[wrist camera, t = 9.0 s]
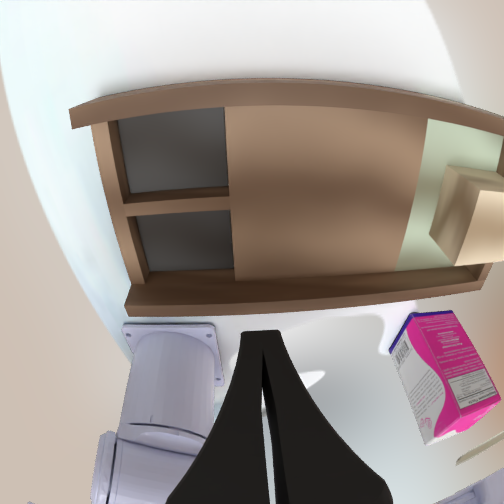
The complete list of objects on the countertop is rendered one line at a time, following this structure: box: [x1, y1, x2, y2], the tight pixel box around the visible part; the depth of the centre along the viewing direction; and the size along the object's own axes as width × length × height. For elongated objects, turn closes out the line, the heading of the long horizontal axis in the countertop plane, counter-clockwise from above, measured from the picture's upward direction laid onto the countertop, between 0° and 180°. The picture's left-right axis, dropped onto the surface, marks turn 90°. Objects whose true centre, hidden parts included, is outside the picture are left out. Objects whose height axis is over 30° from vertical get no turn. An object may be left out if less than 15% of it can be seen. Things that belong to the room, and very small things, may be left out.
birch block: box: [429, 165, 504, 266], centre depth 15 cm, size 5×5×4 cm
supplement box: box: [389, 310, 501, 446], centre depth 22 cm, size 6×6×12 cm
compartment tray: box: [69, 78, 504, 317], centre depth 16 cm, size 13×26×4 cm, turn 91°
